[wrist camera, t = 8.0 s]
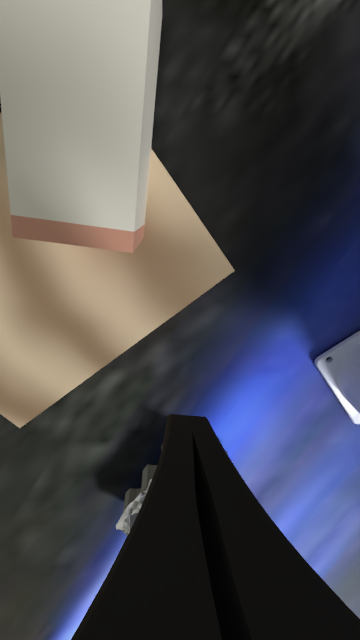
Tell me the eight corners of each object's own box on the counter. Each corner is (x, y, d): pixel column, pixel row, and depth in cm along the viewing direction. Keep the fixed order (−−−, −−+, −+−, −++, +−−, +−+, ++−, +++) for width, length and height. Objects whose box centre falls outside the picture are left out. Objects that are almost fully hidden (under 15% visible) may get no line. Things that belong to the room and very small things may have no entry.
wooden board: (77, 41, 13) (73, 34, 13) (232, 268, 18) (234, 270, 17) (-155, 287, 17) (-166, 290, 16) (23, 422, 22) (19, 428, 21)
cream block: (143, 238, 16) (162, 15, 13) (132, 252, 11) (160, -138, 7) (65, 227, 16) (61, -7, 12) (12, 237, 10) (-25, -190, 7)
